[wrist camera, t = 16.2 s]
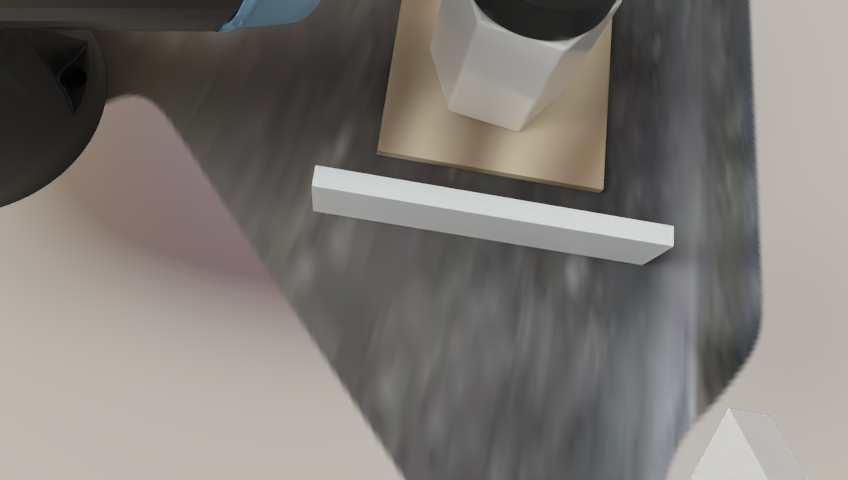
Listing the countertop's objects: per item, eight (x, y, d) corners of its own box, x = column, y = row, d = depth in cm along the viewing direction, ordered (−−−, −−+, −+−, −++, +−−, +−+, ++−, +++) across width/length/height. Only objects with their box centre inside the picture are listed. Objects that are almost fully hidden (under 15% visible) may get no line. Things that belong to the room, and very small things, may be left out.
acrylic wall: (312, 211, 40) (311, 185, 37) (316, 192, 41) (315, 165, 37) (642, 265, 42) (673, 246, 38) (642, 246, 42) (673, 226, 39)
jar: (576, 38, 46) (658, -101, 34) (550, 146, 43) (631, 35, 32) (445, -4, 45) (485, -158, 34) (412, 103, 43) (442, -25, 31)
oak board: (376, 154, 42) (377, 150, 41) (407, -37, 46) (408, -43, 46) (599, 193, 43) (603, 189, 43) (609, 3, 47) (613, -2, 47)
